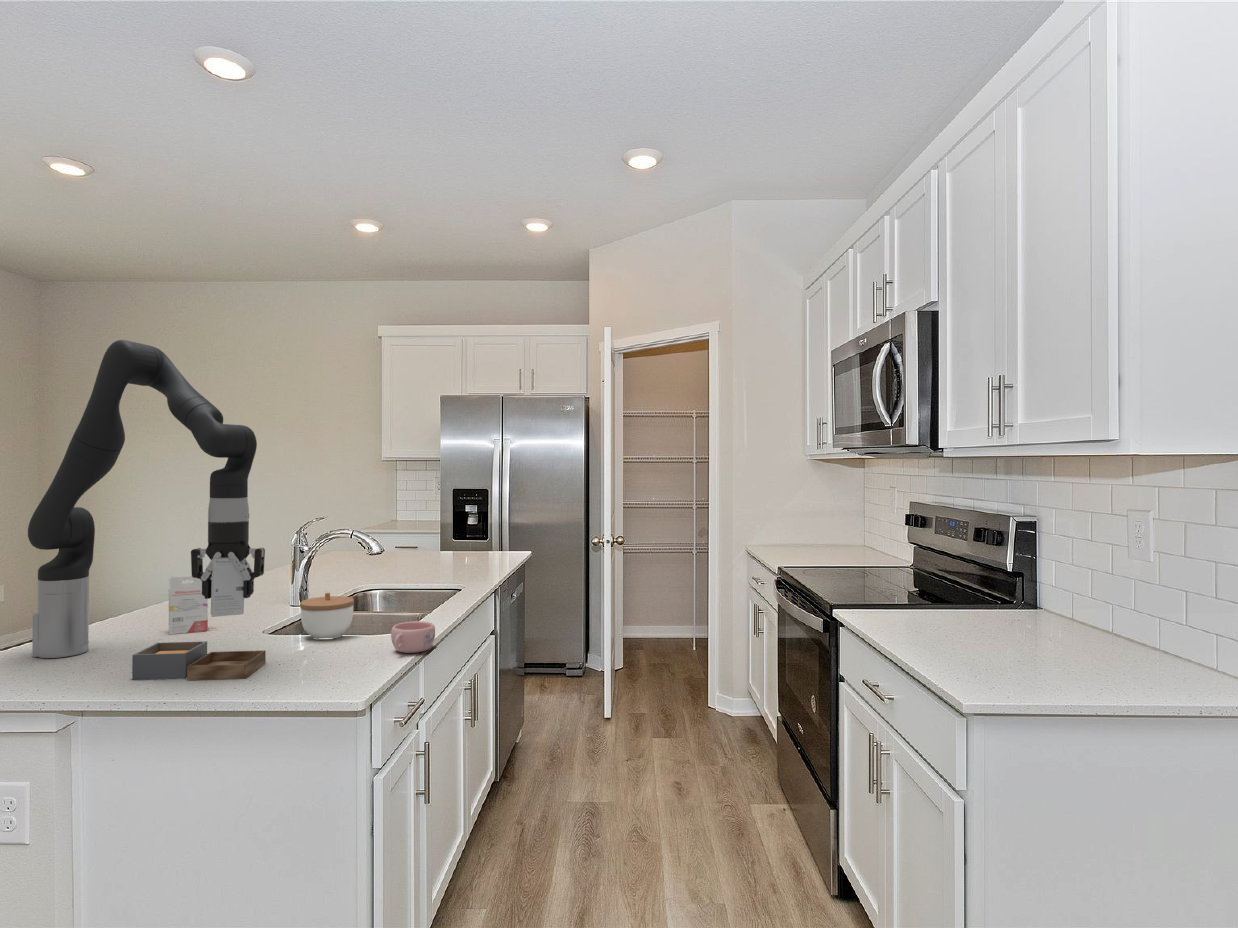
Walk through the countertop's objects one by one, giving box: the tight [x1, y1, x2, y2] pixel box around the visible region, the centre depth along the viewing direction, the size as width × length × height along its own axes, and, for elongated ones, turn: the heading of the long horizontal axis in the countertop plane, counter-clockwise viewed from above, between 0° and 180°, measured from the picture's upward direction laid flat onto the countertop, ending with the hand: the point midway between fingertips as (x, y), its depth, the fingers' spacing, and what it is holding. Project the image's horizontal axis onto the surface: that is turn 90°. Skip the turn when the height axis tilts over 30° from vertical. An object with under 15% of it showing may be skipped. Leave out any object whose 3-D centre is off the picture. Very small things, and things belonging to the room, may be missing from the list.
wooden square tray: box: [186, 649, 267, 681], centre depth 149 cm, size 11×11×3 cm
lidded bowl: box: [299, 592, 355, 641], centre depth 179 cm, size 13×13×11 cm
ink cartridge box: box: [168, 575, 209, 635], centre depth 184 cm, size 9×5×15 cm, turn 118°
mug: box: [390, 620, 436, 654], centre depth 166 cm, size 12×10×6 cm
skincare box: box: [210, 557, 245, 618], centre depth 149 cm, size 6×4×12 cm
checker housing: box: [131, 640, 208, 681], centre depth 148 cm, size 10×10×5 cm
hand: (228, 597), depth 149 cm, fingers closed on skincare box, 7 cm apart
